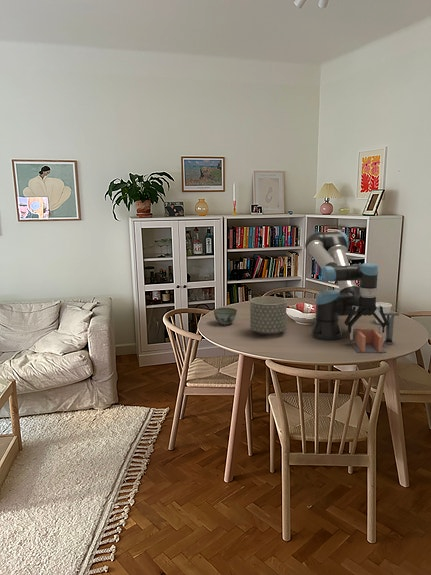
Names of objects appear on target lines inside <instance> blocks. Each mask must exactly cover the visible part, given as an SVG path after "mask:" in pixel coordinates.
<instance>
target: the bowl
mask: <svg viewBox="0 0 431 575" xmlns="http://www.w3.org/2000/svg"><path fill="white" fill-rule="evenodd" d="M237 312H238V309H236V308H232V307H219V308H214V309H213V314H214V318H215V320H216V321H217V322H218V323H219V324H220V325H221V324H224V325H223V326H227V325H226V324H229V325H230V324H231V323H232V322H234V321H235V319H236V318H237Z"/></svg>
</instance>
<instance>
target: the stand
mask: <svg viewBox="0 0 431 575" xmlns="http://www.w3.org/2000/svg"><path fill="white" fill-rule="evenodd" d="M384 315H385V316H387V321H388V323H389V325H386V326H385V339H384V341H383V343H384V344H385V345H394V341H393V340H394V338H393V336H394V325H395V324H394V322H395V321H394V320H395V316H397V317H398V316H400V313H399V312H390V313H384Z"/></svg>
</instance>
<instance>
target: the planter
mask: <svg viewBox="0 0 431 575" xmlns="http://www.w3.org/2000/svg"><path fill="white" fill-rule="evenodd" d="M249 302H250V304H249V307H250V308H249V309H250V310H249V312H250V314H249V316H250V317H249V319H250V325H249V327H250V329H251V331H254V332H256V333H258V334H260V335H263V336H274V335H277V334H279V333H283V332H284V331H286V329H287V308H288V306H287V299H285V298H284V297H281V296H279V297H278V296H271V295H270V296H257V297H256V296H255V297H253V298H250V300H249Z"/></svg>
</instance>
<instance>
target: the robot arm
mask: <svg viewBox="0 0 431 575" xmlns="http://www.w3.org/2000/svg"><path fill="white" fill-rule="evenodd" d="M349 241H350V240H349V238H348V236H347V234H346V233H345V232H343V231H337V230H336V231H324V232H323V231H319V232H314V233H311V234H310V235H309V236H308V237H307V239H306V240H305V243H304V249H305V251H306V252H307V254H308V255H309V256H311V257H312V258H313V259H314V260H315V262H316V263H317V264H318V266H319V267H320V268H321V273H320V274H321V278H322V281H324V282H330V283H332V282H337V284H338V288H339V290H335V289H334V290H332V289H331V290H328V289H327V290H322V291H320V292H318V293H317V294H316V297H315V298H316V299H315V319H314V320H315V321H314V324H313V326H312V328H311V336H312V337H313V338H315V339H319V340H324V341H336V340H339V339H341V338H342V335H343V334H342V333H343V332H342V329H341V324H340V322H339V321H340V320H339V318H340V317H346V318H345V320H344V324H345V326H347V332H348V333H349V339H350V341H351V340H352V341H353V340H354V326H353V325H354V324H355V323H356V322H357V321H358V320H359V319H360V317H362V316H369V317H370V316H373V317H374V319H375V318H376V319H377V321H378V322H379V323H380V324H378V333H379V334H380V335H381V336H382V337H383V334H384V333H385V328H386V325H389V323H388V321H387V319H386V317H385V315H384V312H383V307H382V306H380V305H379V306H376V303H377V297H376V296H377V288H378V287H377V286H378V274H379V270H378V269H379V268H378V267H379V266H378V264H377V263H373V262H372V263H369V262H366V263H365V262H364V263H362V264H360V263H354V264H352V265H350V262H349V259H348V257H347V252H348V250H349V248H350V247H349V246H350V243H349ZM356 281H359V285H357V284H356ZM376 309H377V310H378V311H379V312H380V314H381V316H382V318H383V321H384V323H383V322H382V321H381V320H380V319H379V317H378V316H377V315H376V314H375V310H376Z"/></svg>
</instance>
